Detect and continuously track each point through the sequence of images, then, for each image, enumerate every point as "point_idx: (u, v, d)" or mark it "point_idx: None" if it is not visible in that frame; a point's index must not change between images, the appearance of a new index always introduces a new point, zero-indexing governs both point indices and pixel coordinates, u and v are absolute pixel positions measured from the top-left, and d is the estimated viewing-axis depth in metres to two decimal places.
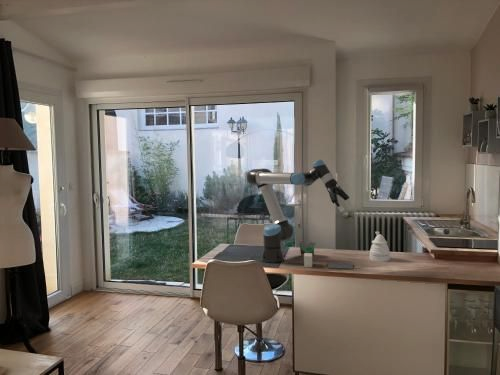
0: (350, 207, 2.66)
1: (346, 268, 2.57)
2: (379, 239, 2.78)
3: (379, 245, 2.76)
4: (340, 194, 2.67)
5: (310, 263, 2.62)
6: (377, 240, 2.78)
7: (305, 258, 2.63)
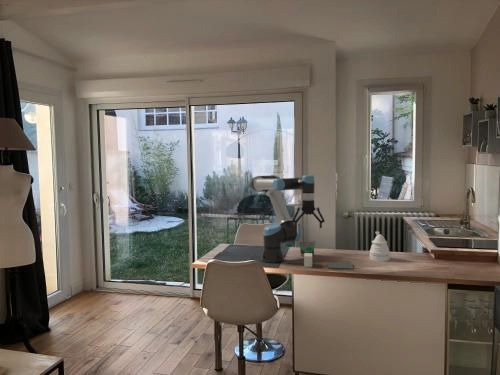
0: None
1: (346, 268, 2.57)
2: (379, 239, 2.78)
3: (379, 245, 2.76)
4: (314, 215, 2.65)
5: (310, 263, 2.62)
6: (377, 240, 2.78)
7: (305, 258, 2.63)
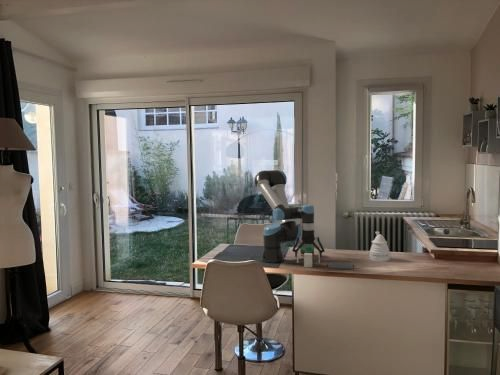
0: None
1: (346, 268, 2.57)
2: (379, 239, 2.78)
3: (379, 245, 2.77)
4: (314, 245, 2.66)
5: (310, 263, 2.62)
6: (377, 240, 2.78)
7: (305, 258, 2.63)
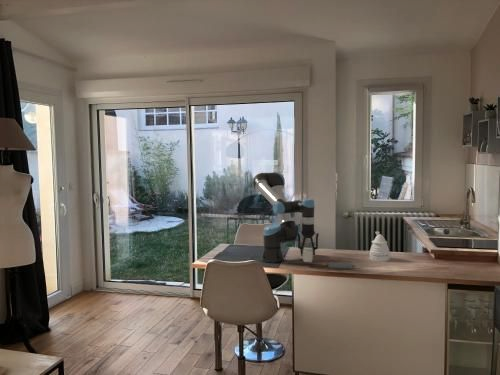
0: None
1: (346, 268, 2.57)
2: (379, 239, 2.78)
3: (379, 245, 2.76)
4: None
5: (310, 258, 2.62)
6: (377, 240, 2.78)
7: (305, 253, 2.63)
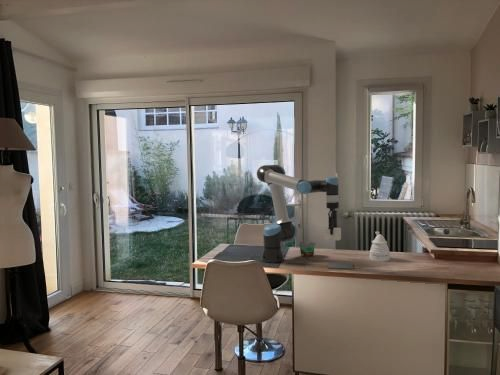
0: None
1: (346, 268, 2.57)
2: (379, 239, 2.78)
3: (379, 245, 2.77)
4: None
5: (340, 235, 2.62)
6: (377, 240, 2.78)
7: (339, 231, 2.59)
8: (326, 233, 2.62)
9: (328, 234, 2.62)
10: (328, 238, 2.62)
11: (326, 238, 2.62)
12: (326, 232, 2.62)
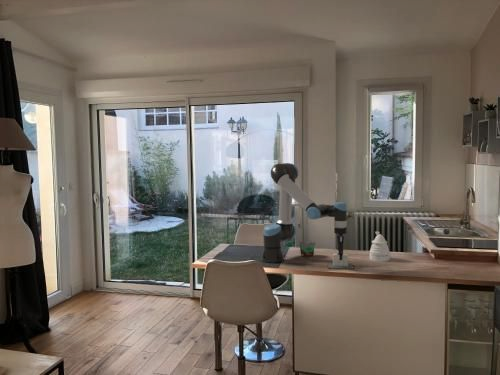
0: None
1: (346, 268, 2.57)
2: (379, 239, 2.78)
3: (379, 245, 2.77)
4: None
5: None
6: (377, 240, 2.78)
7: (347, 257, 2.61)
8: (334, 259, 2.62)
9: (336, 260, 2.62)
10: (336, 264, 2.62)
11: (334, 264, 2.62)
12: (334, 258, 2.62)
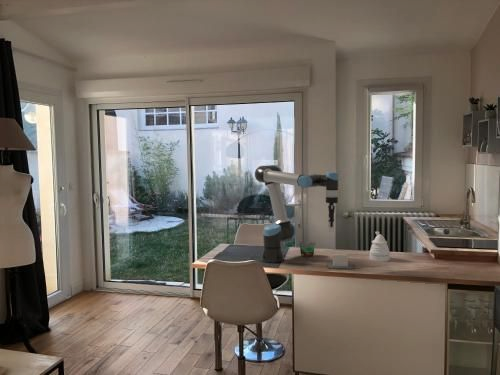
0: None
1: (346, 268, 2.57)
2: (379, 239, 2.78)
3: (379, 245, 2.77)
4: None
5: None
6: (377, 240, 2.78)
7: (347, 257, 2.61)
8: (334, 259, 2.62)
9: (336, 260, 2.62)
10: (336, 264, 2.62)
11: (334, 264, 2.62)
12: (334, 258, 2.62)
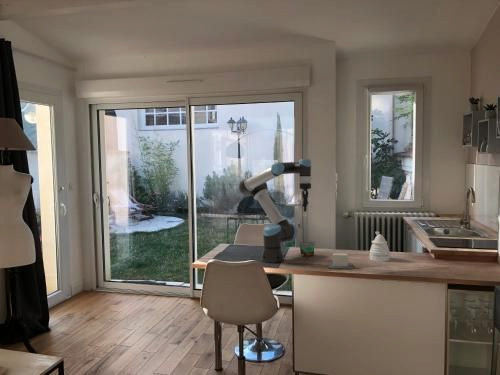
0: None
1: (346, 268, 2.57)
2: (379, 239, 2.78)
3: (379, 245, 2.77)
4: None
5: None
6: (377, 240, 2.78)
7: (347, 257, 2.61)
8: (334, 259, 2.62)
9: (336, 260, 2.62)
10: (336, 264, 2.62)
11: (334, 264, 2.62)
12: (334, 258, 2.62)
